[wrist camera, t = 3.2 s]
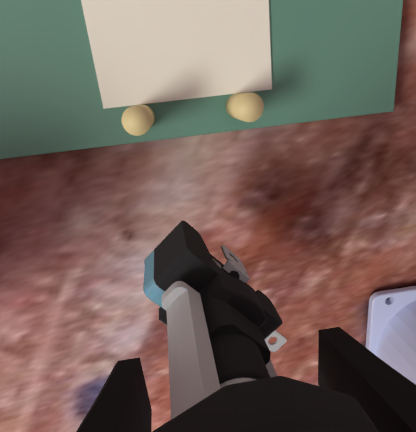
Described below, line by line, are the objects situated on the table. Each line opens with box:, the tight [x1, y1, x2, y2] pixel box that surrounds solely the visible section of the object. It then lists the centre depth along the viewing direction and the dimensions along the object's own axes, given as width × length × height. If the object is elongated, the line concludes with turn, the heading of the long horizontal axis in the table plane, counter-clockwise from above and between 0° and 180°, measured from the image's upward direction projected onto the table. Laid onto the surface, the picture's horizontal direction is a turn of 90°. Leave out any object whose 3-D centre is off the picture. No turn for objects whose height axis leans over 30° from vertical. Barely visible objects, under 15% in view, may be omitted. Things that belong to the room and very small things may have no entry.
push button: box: [143, 221, 379, 432], centre depth 9 cm, size 7×5×10 cm
